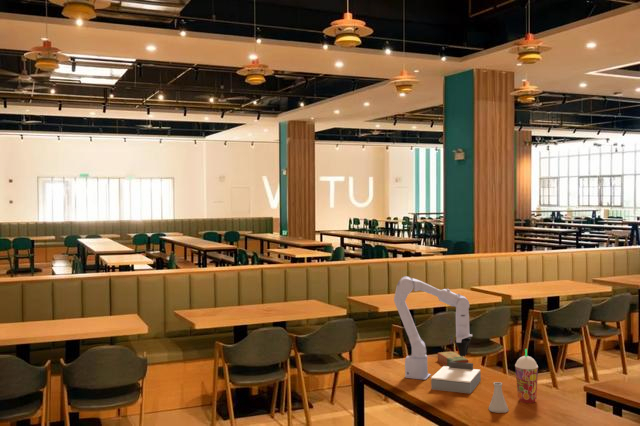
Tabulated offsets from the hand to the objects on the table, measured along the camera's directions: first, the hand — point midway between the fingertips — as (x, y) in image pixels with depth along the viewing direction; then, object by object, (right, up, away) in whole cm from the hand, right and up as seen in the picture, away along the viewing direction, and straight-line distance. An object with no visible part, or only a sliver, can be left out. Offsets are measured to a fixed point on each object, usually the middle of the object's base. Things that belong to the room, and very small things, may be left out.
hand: (463, 355), depth 278 cm
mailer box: (-5, -10, -11) cm, 16 cm away
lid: (-5, -6, -11) cm, 13 cm away
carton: (0, -9, +21) cm, 23 cm away
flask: (+3, -11, -42) cm, 44 cm away
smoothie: (+17, -10, -33) cm, 39 cm away
